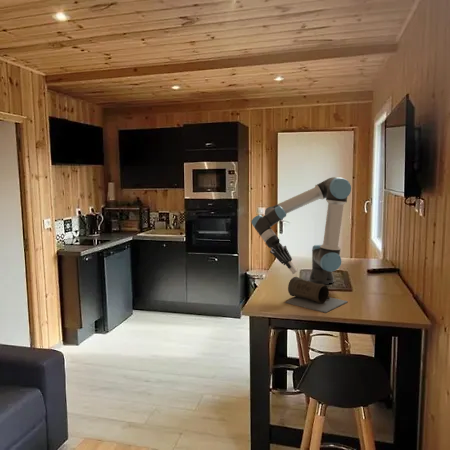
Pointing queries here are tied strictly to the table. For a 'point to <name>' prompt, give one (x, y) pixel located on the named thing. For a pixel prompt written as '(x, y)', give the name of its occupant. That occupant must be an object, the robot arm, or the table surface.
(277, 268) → the table surface
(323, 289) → the beer stein
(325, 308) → the mat
